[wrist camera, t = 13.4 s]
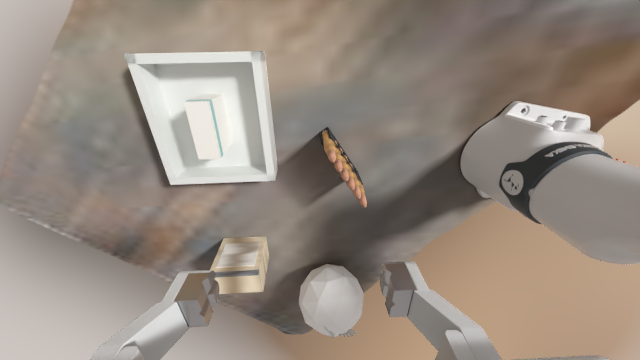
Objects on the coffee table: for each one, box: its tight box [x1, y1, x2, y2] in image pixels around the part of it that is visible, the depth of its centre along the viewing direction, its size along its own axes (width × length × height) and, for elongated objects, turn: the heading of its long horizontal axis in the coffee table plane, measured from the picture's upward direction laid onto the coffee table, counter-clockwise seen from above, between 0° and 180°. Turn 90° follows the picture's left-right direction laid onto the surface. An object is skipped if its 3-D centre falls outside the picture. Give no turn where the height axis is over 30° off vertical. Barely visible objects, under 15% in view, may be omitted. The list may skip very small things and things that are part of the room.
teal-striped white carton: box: [184, 94, 232, 159], centre depth 36 cm, size 3×8×7 cm, turn 0°
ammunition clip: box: [319, 127, 367, 208], centre depth 39 cm, size 11×2×12 cm, turn 34°
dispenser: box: [210, 236, 269, 294], centre depth 49 cm, size 9×6×10 cm
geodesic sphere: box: [299, 264, 364, 338], centre depth 52 cm, size 15×14×14 cm
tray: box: [124, 51, 278, 185], centre depth 38 cm, size 17×19×5 cm
